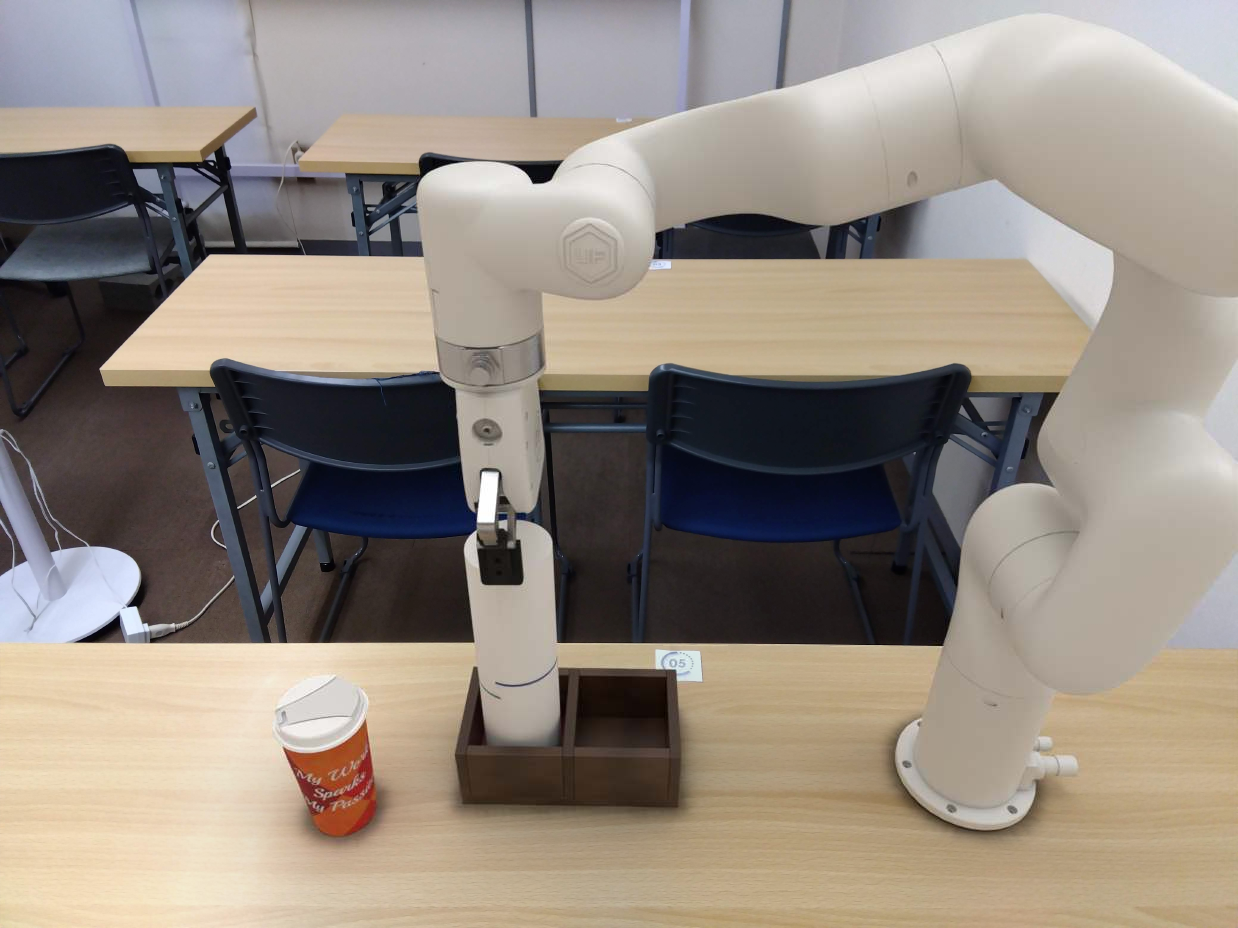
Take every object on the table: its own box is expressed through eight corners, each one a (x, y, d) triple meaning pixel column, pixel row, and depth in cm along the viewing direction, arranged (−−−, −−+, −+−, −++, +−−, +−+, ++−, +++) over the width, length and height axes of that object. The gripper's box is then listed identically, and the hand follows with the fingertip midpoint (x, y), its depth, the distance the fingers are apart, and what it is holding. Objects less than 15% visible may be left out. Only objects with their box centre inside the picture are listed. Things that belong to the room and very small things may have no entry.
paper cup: (310, 861, 74) (276, 755, 67) (295, 793, 80) (262, 688, 72) (399, 824, 77) (376, 719, 70) (378, 761, 83) (355, 658, 75)
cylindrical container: (550, 786, 79) (538, 580, 66) (477, 773, 80) (450, 567, 67) (569, 726, 85) (562, 525, 72) (501, 714, 86) (481, 514, 73)
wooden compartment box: (673, 717, 88) (676, 668, 84) (677, 807, 79) (681, 757, 75) (479, 714, 88) (473, 665, 84) (461, 803, 79) (454, 753, 75)
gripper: (532, 410, 52) (547, 617, 62) (554, 302, 67) (564, 483, 76) (411, 410, 53) (444, 617, 62) (459, 303, 67) (480, 483, 76)
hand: (510, 543), depth 69 cm, fingers open, 9 cm apart
